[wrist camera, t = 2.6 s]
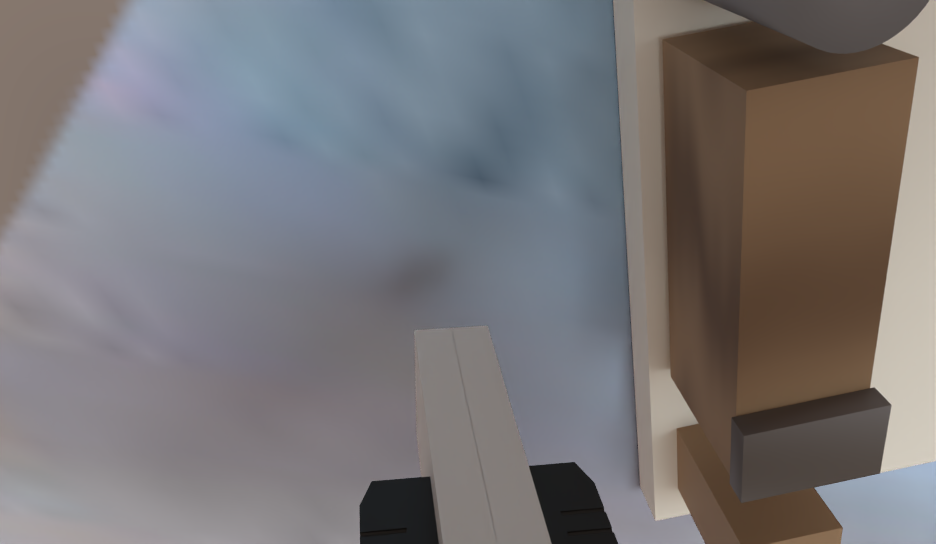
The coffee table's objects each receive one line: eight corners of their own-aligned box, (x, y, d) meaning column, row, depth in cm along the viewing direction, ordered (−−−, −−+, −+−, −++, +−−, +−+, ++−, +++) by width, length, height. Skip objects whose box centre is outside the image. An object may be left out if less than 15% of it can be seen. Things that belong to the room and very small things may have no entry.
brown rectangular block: (657, 40, 16) (757, 102, 12) (802, 12, 16) (948, 64, 12) (667, 377, 21) (741, 502, 17) (779, 353, 21) (879, 473, 17)
